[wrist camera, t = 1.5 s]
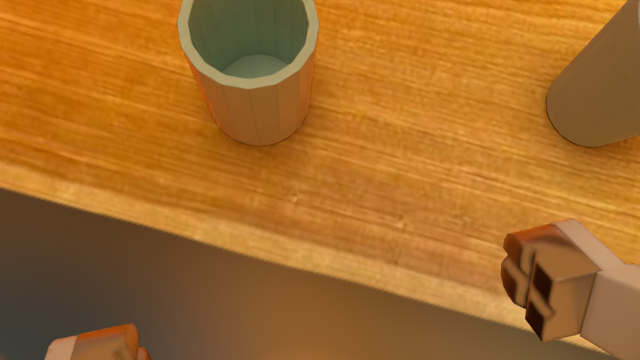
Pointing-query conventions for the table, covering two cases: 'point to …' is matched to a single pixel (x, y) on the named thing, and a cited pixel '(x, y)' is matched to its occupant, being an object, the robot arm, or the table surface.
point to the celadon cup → (252, 63)
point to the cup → (601, 85)
